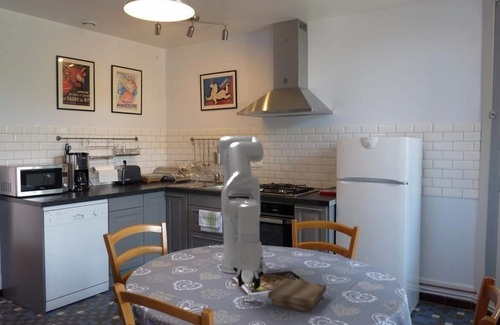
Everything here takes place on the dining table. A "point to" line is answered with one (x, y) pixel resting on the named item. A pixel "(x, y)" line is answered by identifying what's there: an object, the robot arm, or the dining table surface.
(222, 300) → the dining table surface
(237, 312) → the dining table surface
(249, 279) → the wineglass
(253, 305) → the dining table surface
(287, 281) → the stand
